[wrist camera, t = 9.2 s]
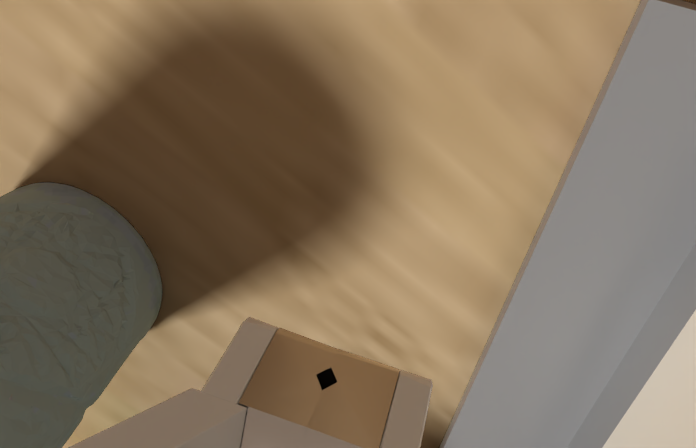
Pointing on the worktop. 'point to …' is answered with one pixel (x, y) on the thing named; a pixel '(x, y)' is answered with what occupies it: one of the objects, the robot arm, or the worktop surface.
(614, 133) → the grooved grey base
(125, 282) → the teal cup
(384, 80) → the worktop surface
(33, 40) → the worktop surface
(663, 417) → the cover
